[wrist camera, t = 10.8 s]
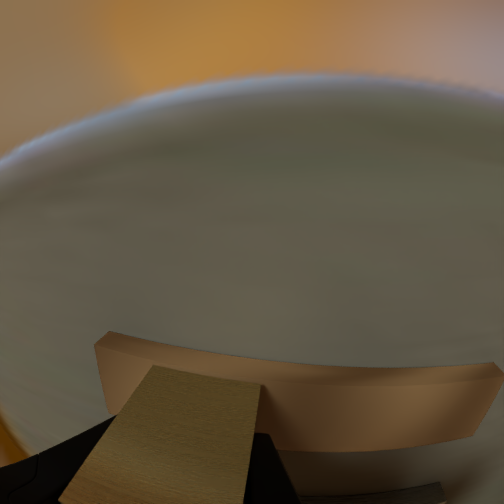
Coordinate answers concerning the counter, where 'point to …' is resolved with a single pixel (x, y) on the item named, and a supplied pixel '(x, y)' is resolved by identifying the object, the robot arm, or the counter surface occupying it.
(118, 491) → the handle
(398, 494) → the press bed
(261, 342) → the counter surface
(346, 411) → the rail
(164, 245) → the counter surface
